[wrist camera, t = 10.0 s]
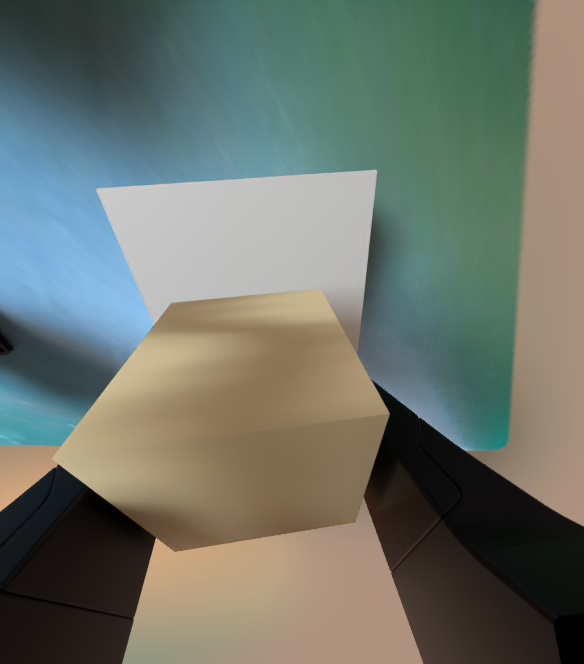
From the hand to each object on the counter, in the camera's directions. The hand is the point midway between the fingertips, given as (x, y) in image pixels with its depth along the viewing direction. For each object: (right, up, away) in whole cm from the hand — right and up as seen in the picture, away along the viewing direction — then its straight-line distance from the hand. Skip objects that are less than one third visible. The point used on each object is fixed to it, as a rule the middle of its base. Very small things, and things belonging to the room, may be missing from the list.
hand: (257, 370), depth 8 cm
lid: (-1, +3, +5) cm, 6 cm away
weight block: (0, +1, +1) cm, 1 cm away
